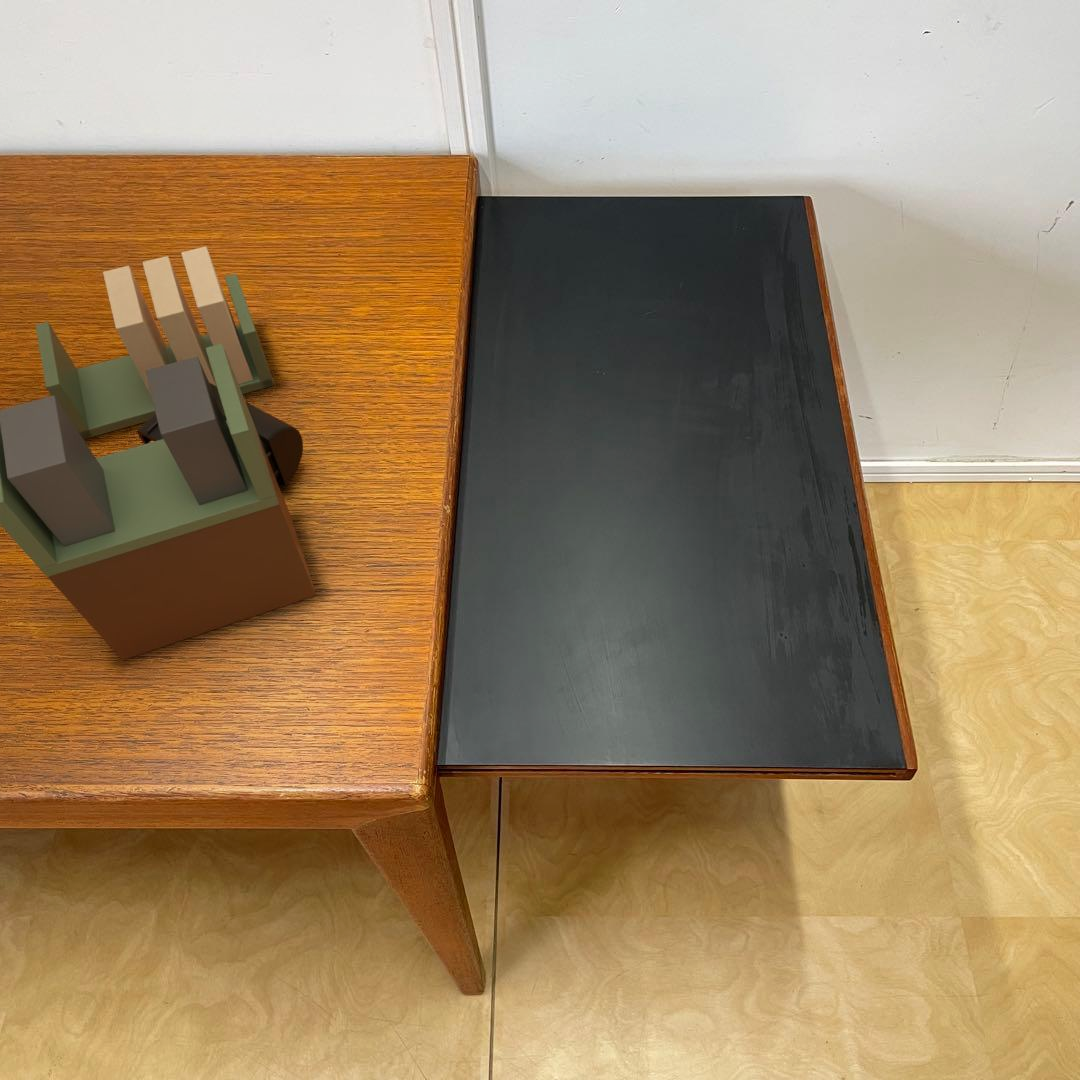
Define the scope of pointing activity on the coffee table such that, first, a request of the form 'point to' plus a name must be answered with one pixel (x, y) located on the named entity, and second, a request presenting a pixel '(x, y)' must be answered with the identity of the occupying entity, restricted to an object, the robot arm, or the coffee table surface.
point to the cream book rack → (154, 344)
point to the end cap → (273, 433)
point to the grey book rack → (155, 513)
